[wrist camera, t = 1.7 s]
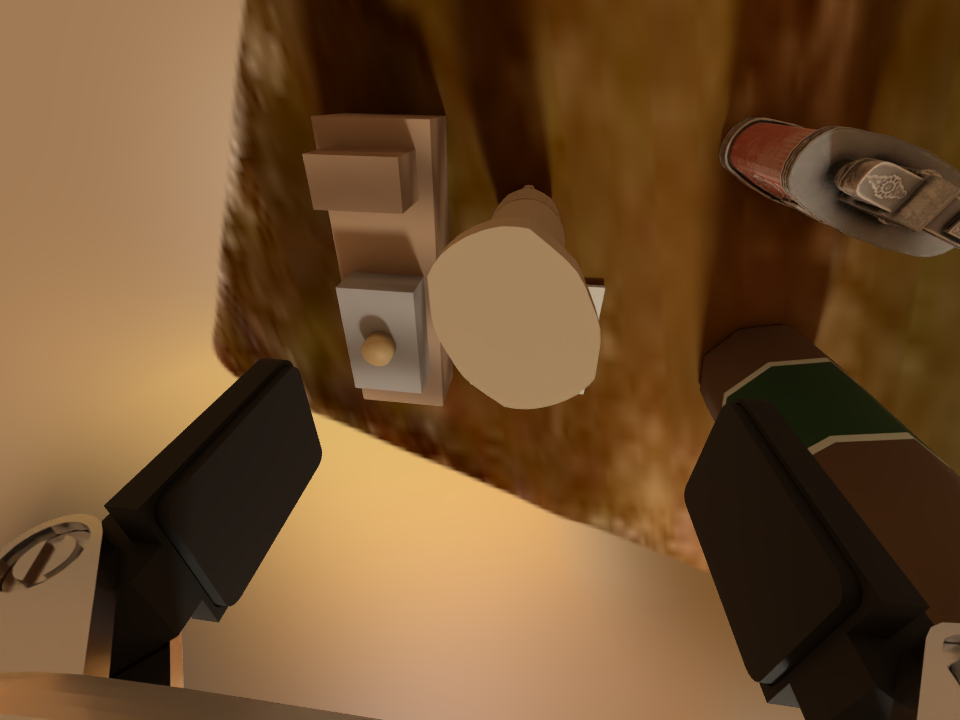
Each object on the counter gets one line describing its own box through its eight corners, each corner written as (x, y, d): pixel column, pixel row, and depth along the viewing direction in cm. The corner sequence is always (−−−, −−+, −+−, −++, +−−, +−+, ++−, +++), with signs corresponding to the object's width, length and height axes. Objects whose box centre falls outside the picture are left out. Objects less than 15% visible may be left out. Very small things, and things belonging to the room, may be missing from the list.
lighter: (704, 168, 22) (800, 212, 14) (749, 100, 20) (890, 106, 12) (825, 225, 23) (982, 299, 15) (878, 166, 21) (1091, 212, 13)
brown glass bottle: (675, 395, 31) (914, 931, 11) (730, 307, 27) (1287, 936, 7) (772, 418, 31) (1181, 992, 11) (843, 334, 27) (1724, 1036, 7)
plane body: (343, 113, 23) (272, 120, 17) (445, 115, 22) (410, 124, 16) (381, 368, 33) (345, 430, 27) (452, 374, 32) (432, 439, 26)
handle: (513, 272, 27) (491, 423, 15) (469, 180, 24) (395, 271, 12) (582, 242, 25) (623, 383, 13) (544, 139, 23) (549, 195, 10)
